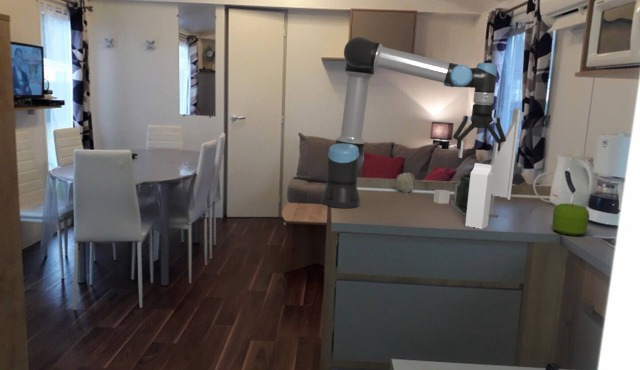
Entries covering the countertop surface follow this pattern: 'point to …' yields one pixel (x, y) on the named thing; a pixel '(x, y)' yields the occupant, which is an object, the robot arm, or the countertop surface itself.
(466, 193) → the mug
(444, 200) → the loose relay
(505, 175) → the white slanted panel
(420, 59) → the robot arm
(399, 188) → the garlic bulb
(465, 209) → the grey storage bin
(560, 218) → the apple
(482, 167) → the milk
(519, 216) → the countertop surface
